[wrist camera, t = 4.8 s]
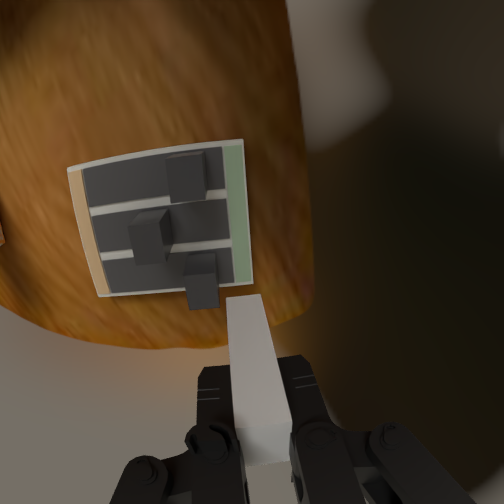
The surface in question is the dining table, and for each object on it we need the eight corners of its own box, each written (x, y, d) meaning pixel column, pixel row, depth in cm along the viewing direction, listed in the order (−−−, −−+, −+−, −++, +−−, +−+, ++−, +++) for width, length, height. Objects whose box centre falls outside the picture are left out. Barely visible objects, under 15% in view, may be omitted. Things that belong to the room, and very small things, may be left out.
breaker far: (192, 286, 30) (189, 310, 26) (187, 255, 29) (182, 276, 25) (219, 283, 30) (219, 307, 26) (215, 252, 29) (214, 272, 25)
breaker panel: (103, 288, 32) (98, 298, 30) (75, 165, 26) (65, 168, 24) (251, 275, 33) (253, 284, 31) (241, 138, 27) (243, 139, 25)
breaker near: (178, 192, 26) (170, 203, 22) (173, 154, 25) (164, 158, 21) (207, 188, 26) (205, 199, 22) (204, 150, 25) (201, 154, 21)
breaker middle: (146, 246, 28) (135, 265, 24) (140, 211, 26) (127, 226, 22) (173, 243, 28) (166, 262, 24) (167, 208, 27) (158, 222, 23)
